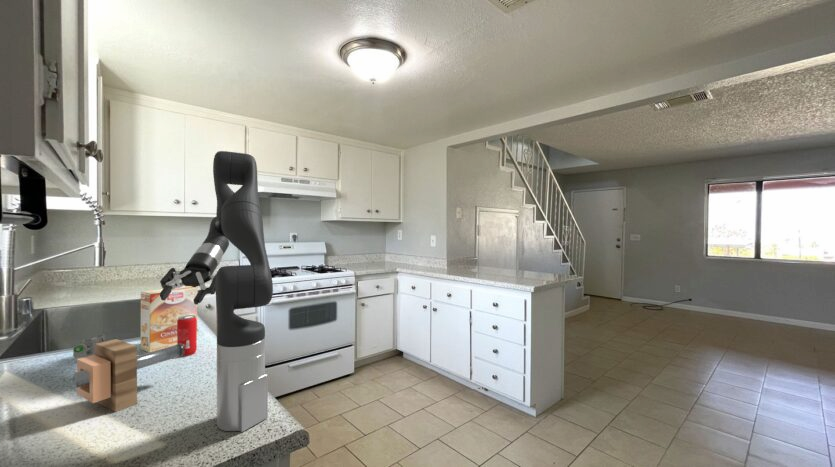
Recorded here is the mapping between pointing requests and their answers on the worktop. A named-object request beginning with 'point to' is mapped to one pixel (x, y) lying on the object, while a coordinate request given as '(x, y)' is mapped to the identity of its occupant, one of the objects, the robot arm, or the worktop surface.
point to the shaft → (142, 361)
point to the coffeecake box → (164, 316)
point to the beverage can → (187, 333)
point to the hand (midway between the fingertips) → (178, 300)
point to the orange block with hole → (95, 378)
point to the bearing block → (120, 373)
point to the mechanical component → (88, 346)
